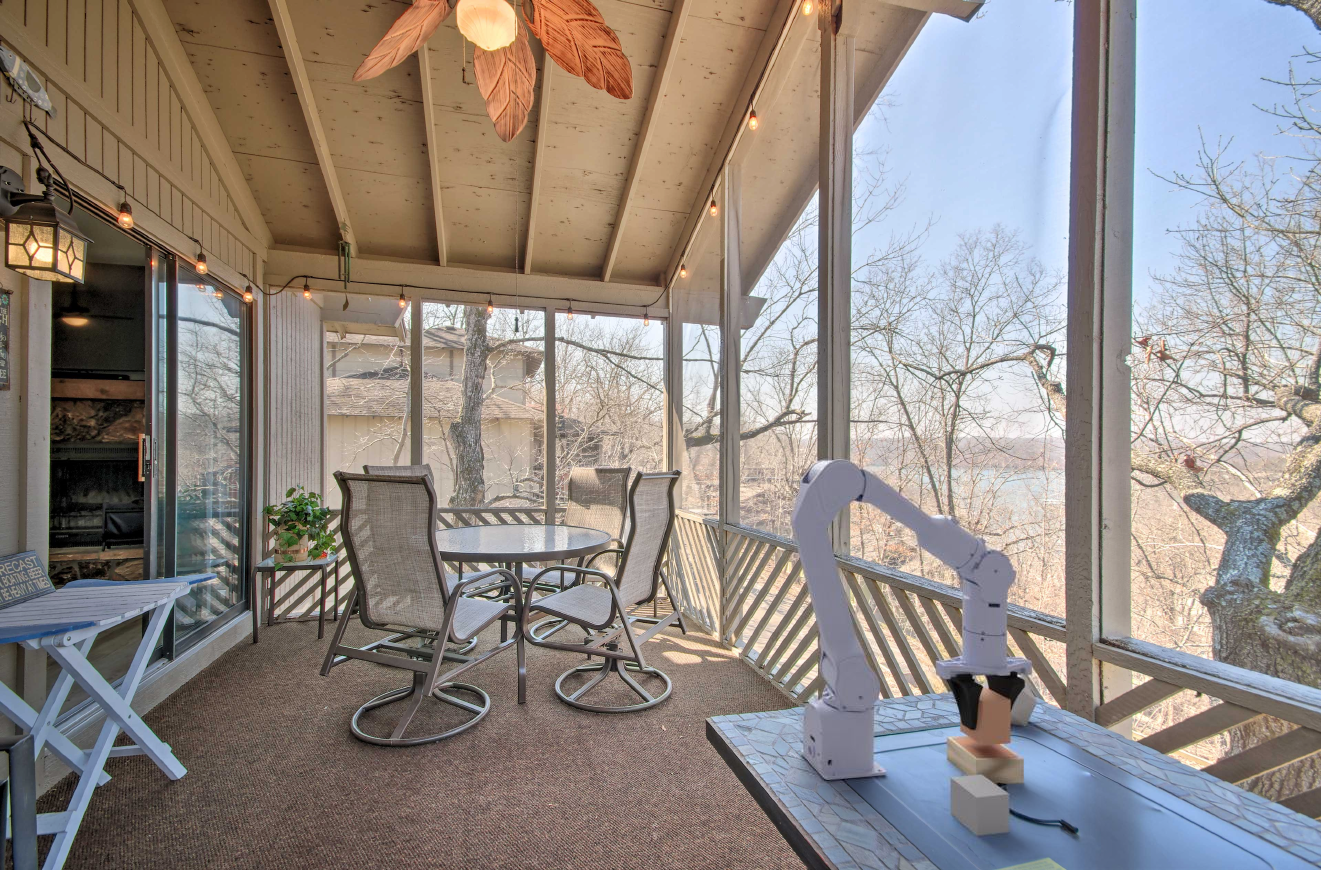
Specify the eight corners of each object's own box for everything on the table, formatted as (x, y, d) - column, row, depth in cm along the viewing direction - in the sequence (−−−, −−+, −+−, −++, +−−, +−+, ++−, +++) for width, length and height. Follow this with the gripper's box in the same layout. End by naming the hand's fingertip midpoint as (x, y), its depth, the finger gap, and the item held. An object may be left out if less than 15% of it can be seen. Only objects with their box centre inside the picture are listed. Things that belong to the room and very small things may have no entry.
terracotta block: (982, 745, 83) (982, 701, 83) (960, 730, 87) (960, 689, 88) (1010, 743, 84) (1010, 699, 84) (986, 729, 88) (986, 687, 88)
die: (1034, 720, 105) (999, 666, 110) (1058, 713, 98) (1020, 656, 103) (994, 738, 104) (961, 683, 109) (1015, 733, 97) (979, 674, 102)
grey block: (976, 836, 70) (976, 797, 70) (950, 814, 74) (950, 777, 75) (1009, 832, 71) (1009, 794, 71) (981, 810, 75) (981, 774, 76)
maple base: (976, 786, 82) (976, 759, 82) (946, 760, 89) (946, 736, 89) (1023, 785, 82) (1023, 758, 82) (990, 759, 89) (991, 735, 89)
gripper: (959, 640, 81) (959, 742, 80) (1049, 636, 84) (1049, 735, 83) (926, 626, 88) (925, 719, 87) (1010, 623, 91) (1010, 714, 90)
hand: (983, 725), depth 86 cm, fingers closed on terracotta block, 4 cm apart
